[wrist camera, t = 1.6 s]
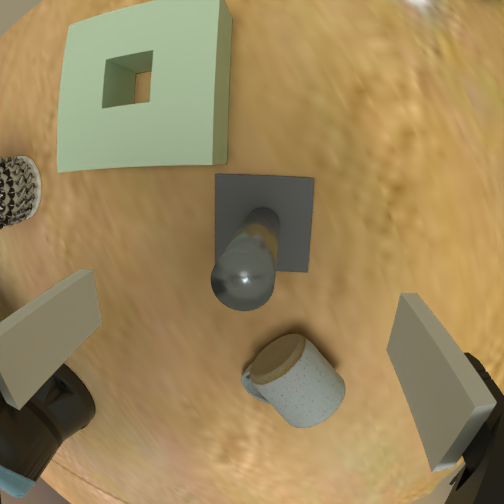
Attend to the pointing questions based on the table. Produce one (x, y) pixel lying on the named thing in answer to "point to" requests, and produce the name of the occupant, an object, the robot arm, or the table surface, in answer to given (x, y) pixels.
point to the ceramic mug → (295, 381)
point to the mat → (275, 198)
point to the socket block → (161, 92)
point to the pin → (249, 262)
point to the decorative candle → (18, 189)
